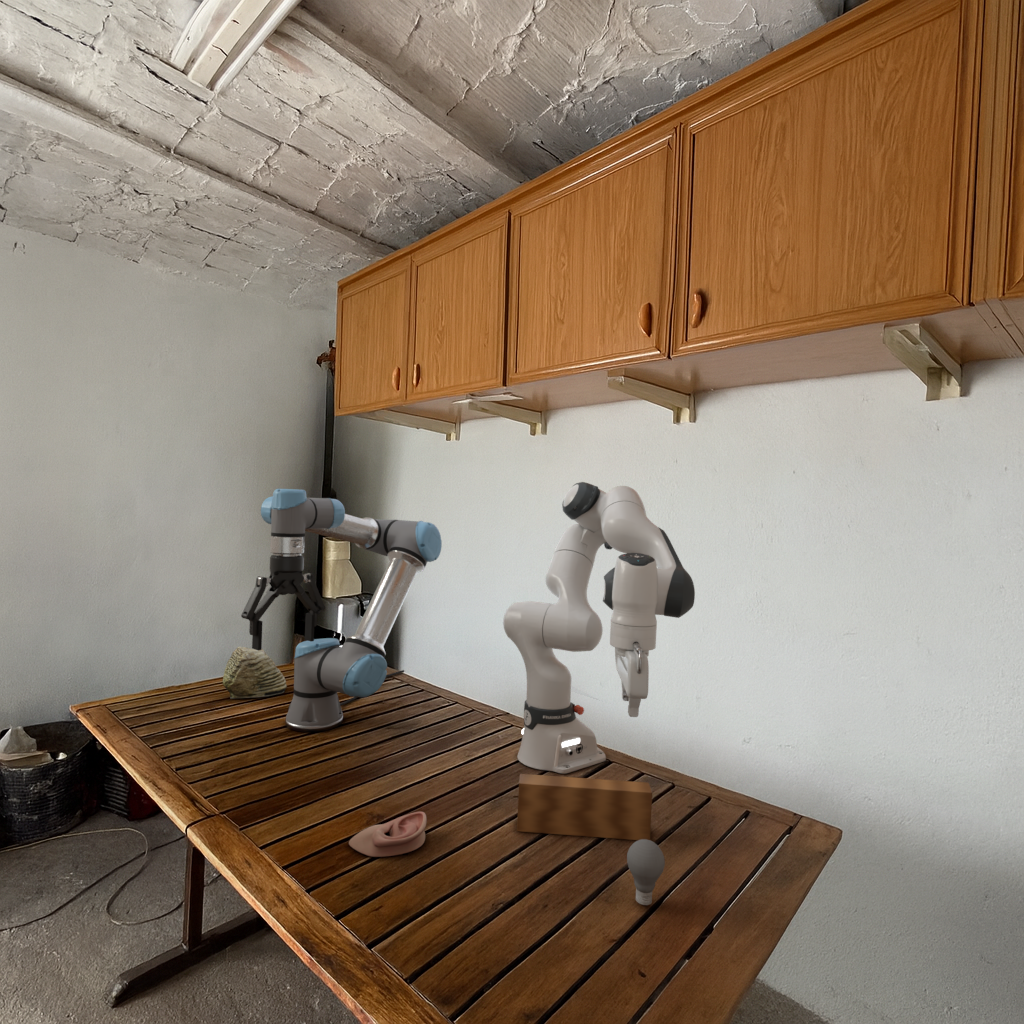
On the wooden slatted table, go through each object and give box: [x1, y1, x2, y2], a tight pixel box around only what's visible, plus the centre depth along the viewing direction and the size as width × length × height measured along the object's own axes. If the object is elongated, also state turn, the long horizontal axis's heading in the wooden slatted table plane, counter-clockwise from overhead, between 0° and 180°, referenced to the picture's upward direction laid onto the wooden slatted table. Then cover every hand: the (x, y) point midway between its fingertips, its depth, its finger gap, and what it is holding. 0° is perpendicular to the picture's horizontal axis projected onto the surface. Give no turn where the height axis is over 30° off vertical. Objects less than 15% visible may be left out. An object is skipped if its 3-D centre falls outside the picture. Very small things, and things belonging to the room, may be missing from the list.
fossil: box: [222, 646, 288, 699], centre depth 198 cm, size 9×18×15 cm, turn 132°
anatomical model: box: [348, 811, 428, 858], centre depth 117 cm, size 13×4×12 cm
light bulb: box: [626, 839, 666, 906], centre depth 102 cm, size 6×6×10 cm
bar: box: [516, 773, 653, 841], centre depth 125 cm, size 26×4×10 cm, turn 87°
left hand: (283, 644), depth 149 cm, fingers open, 13 cm apart
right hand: (629, 707), depth 124 cm, fingers open, 8 cm apart
